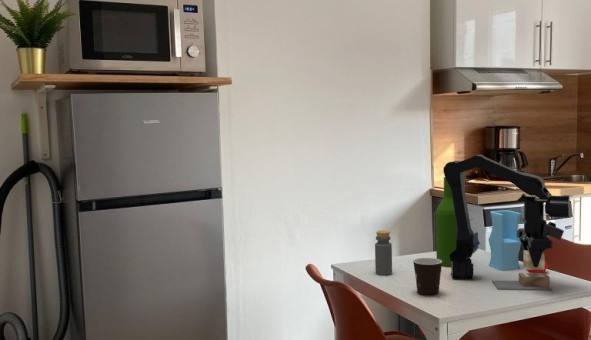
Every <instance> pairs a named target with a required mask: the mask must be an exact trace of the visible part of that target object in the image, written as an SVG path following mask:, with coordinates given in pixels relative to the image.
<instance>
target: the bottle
mask: <svg viewBox="0 0 591 340" xmlns="http://www.w3.org/2000/svg"><path fill="white" fill-rule="evenodd" d="M375 233H376V236H375V240H377V242H376V243H375V244H374V256H375V257H374V263H375V265H374V267H375V269H374V271H375V275H378V276H382V277H383V276H391V275H392V274H393V252H392V251H393V246H392V245H393V244H392V243H391V242H390V240H391V236H390V233H391V232H390V231H389V230H376V231H375Z"/></svg>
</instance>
